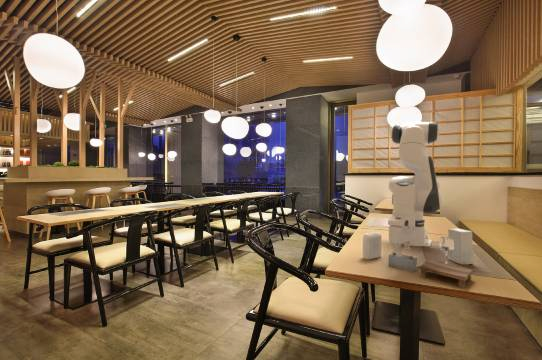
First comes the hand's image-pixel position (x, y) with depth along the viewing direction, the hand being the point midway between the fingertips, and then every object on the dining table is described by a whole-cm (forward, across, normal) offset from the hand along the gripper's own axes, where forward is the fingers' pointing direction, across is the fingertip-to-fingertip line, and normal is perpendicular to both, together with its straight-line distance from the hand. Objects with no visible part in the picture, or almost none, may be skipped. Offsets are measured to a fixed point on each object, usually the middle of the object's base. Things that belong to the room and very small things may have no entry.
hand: (402, 252), depth 115 cm
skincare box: (+7, -28, +15) cm, 33 cm away
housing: (+7, 0, 0) cm, 7 cm away
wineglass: (+7, -18, +12) cm, 23 cm away
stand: (+7, 0, +16) cm, 17 cm away
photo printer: (+7, -4, -15) cm, 17 cm away
